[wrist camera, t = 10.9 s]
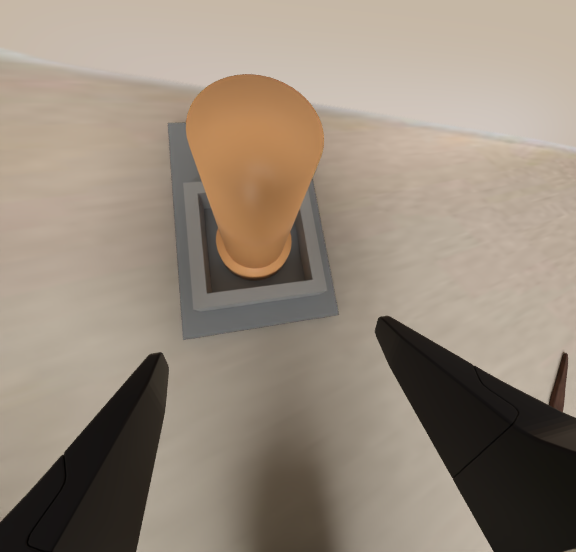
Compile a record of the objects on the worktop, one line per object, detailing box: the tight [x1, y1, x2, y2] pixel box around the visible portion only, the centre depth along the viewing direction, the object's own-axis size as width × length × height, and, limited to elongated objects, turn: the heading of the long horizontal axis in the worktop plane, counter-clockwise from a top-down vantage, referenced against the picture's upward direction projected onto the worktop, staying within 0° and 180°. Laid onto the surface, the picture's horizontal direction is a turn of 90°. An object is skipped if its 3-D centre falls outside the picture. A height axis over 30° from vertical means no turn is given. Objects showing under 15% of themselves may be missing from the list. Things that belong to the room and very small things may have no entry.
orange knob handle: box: [186, 74, 324, 281], centre depth 15 cm, size 6×6×13 cm
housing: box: [168, 123, 339, 340], centre depth 21 cm, size 20×13×4 cm, turn 9°
